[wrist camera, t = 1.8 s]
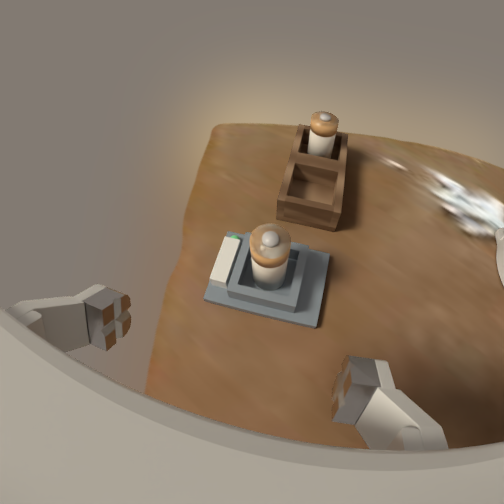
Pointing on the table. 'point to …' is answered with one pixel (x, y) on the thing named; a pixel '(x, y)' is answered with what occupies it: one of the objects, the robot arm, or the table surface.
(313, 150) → the cell
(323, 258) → the checker
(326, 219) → the rack
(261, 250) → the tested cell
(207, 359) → the table surface
